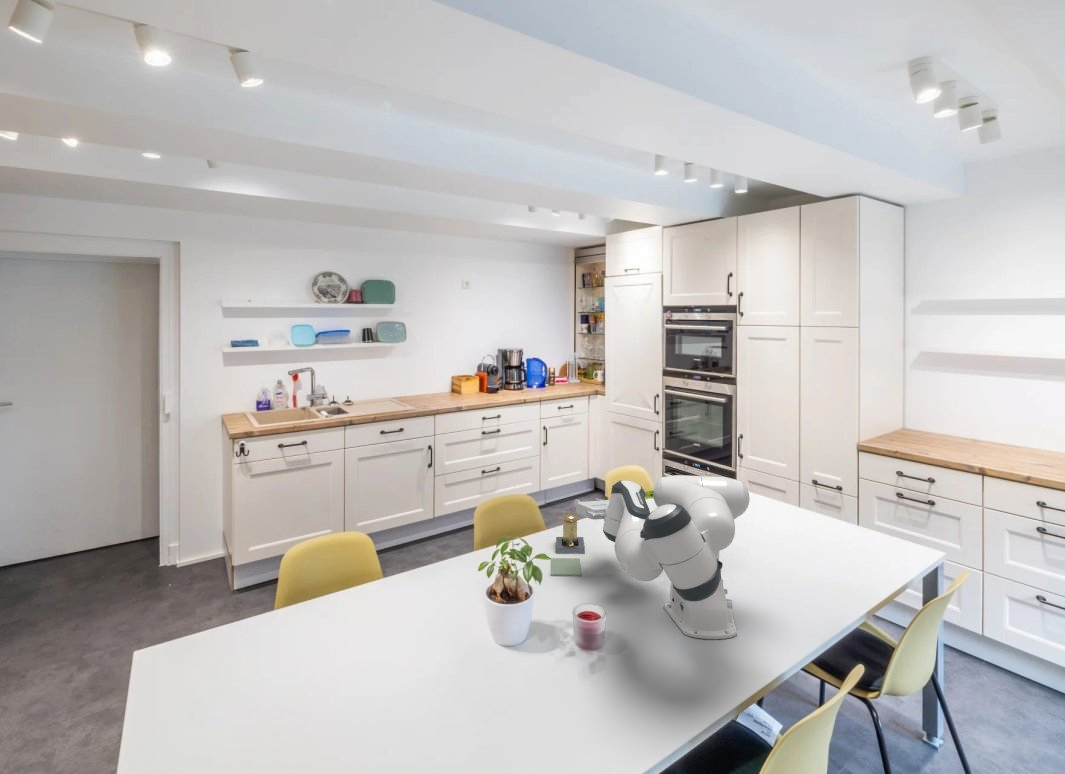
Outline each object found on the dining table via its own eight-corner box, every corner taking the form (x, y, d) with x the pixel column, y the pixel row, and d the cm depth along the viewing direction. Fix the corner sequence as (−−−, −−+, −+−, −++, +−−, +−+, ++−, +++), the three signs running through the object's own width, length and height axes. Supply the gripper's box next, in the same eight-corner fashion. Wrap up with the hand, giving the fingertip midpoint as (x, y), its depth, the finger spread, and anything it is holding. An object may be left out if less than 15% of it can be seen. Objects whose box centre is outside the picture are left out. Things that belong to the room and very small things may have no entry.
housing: (584, 555, 192) (584, 548, 192) (556, 554, 193) (556, 548, 192) (583, 543, 202) (583, 537, 202) (556, 543, 203) (556, 536, 202)
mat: (581, 576, 176) (581, 574, 176) (550, 576, 177) (550, 574, 177) (579, 559, 188) (579, 558, 188) (550, 559, 189) (550, 558, 189)
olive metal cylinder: (578, 551, 194) (578, 518, 193) (562, 551, 194) (561, 518, 193) (577, 544, 200) (578, 512, 199) (561, 544, 200) (561, 512, 199)
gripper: (594, 527, 167) (561, 511, 177) (633, 522, 181) (601, 508, 191) (598, 507, 166) (565, 493, 176) (636, 503, 181) (604, 490, 190)
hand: (584, 501), depth 184 cm, fingers open, 8 cm apart
